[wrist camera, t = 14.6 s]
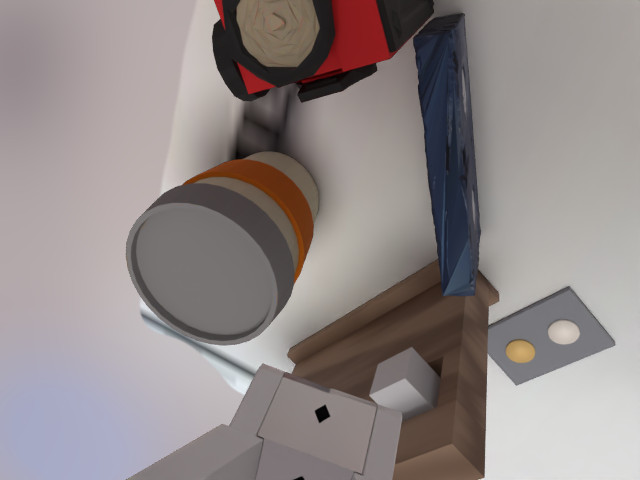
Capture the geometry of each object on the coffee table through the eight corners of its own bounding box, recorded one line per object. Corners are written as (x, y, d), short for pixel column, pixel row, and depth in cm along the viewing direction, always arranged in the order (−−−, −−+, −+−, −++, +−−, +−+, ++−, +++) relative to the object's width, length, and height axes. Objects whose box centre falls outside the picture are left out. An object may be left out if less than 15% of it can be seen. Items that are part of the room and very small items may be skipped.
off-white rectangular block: (480, 410, 38) (479, 454, 35) (437, 427, 40) (431, 471, 37) (417, 340, 37) (409, 380, 33) (375, 362, 39) (363, 401, 35)
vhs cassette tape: (430, 16, 39) (411, 35, 30) (471, 10, 38) (464, 27, 29) (446, 235, 47) (435, 297, 38) (481, 234, 46) (477, 298, 37)
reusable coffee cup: (266, 103, 46) (179, 161, 33) (365, 204, 47) (317, 296, 35) (191, 188, 52) (95, 263, 40) (280, 274, 54) (215, 372, 41)
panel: (499, 293, 48) (500, 494, 30) (325, 384, 60) (254, 565, 42) (458, 246, 47) (435, 426, 29) (290, 348, 59) (202, 519, 41)
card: (614, 341, 47) (616, 347, 46) (516, 382, 52) (516, 387, 51) (569, 286, 45) (570, 291, 45) (473, 333, 51) (472, 338, 50)
